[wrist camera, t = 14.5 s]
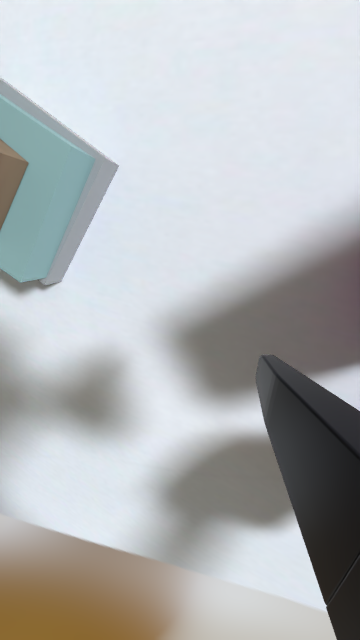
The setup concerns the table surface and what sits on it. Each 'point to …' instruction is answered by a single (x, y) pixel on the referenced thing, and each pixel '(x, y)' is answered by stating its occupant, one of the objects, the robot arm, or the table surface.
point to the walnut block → (9, 177)
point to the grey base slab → (91, 191)
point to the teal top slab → (39, 193)
